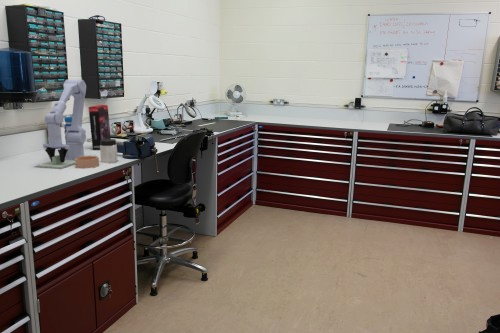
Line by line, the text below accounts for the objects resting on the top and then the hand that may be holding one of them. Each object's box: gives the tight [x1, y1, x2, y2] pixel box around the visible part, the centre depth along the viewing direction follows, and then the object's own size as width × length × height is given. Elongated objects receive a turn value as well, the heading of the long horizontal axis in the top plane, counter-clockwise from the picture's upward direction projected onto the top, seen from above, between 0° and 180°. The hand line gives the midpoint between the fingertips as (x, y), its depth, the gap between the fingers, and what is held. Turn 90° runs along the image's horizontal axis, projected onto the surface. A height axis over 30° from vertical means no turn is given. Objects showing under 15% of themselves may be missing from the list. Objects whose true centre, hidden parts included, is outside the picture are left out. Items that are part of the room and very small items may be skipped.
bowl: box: [74, 155, 100, 169], centre depth 216 cm, size 11×11×4 cm
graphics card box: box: [88, 104, 112, 151], centre depth 266 cm, size 17×7×27 cm, turn 179°
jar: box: [99, 138, 118, 164], centre depth 227 cm, size 9×8×12 cm
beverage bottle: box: [63, 116, 72, 145], centre depth 265 cm, size 8×8×20 cm
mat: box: [34, 164, 75, 170], centre depth 218 cm, size 17×17×1 cm
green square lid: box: [36, 154, 75, 169], centre depth 217 cm, size 14×14×5 cm
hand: (57, 161), depth 218 cm, fingers open, 5 cm apart
